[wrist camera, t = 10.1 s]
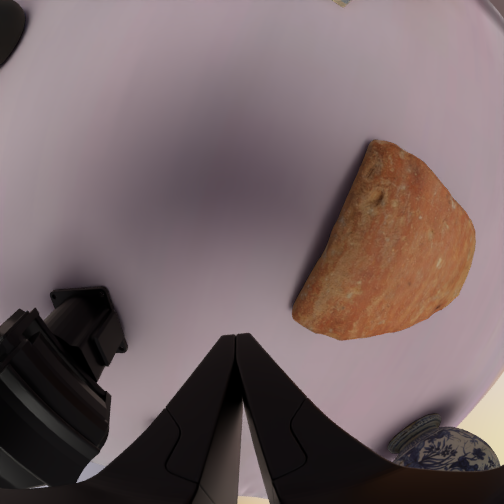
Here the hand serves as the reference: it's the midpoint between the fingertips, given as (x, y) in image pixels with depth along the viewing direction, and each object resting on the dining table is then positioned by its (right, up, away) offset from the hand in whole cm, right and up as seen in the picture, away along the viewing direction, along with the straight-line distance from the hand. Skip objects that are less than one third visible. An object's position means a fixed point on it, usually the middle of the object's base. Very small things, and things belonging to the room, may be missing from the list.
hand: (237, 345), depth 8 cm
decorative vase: (+28, -28, +24) cm, 47 cm away
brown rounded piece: (+13, +2, +13) cm, 19 cm away
